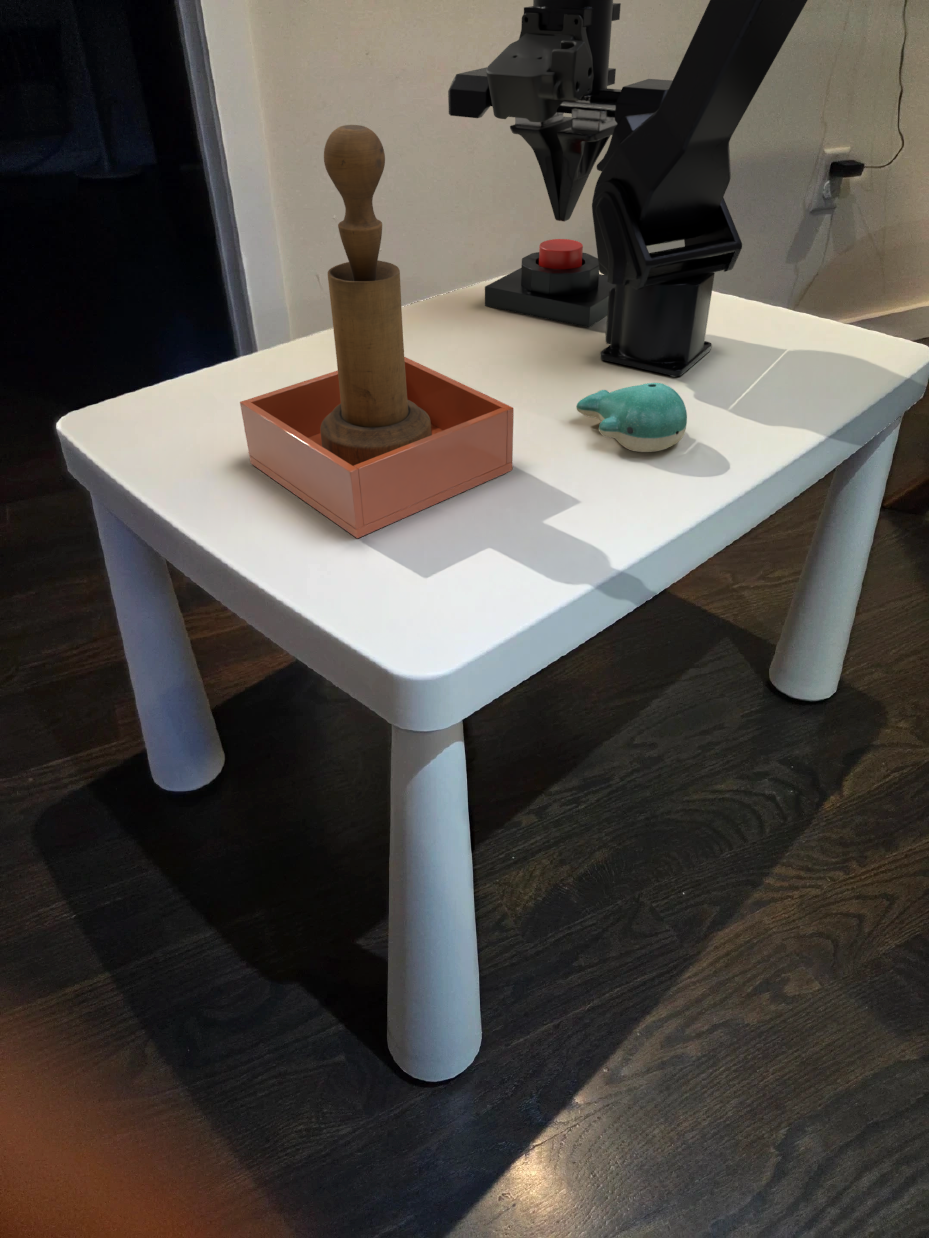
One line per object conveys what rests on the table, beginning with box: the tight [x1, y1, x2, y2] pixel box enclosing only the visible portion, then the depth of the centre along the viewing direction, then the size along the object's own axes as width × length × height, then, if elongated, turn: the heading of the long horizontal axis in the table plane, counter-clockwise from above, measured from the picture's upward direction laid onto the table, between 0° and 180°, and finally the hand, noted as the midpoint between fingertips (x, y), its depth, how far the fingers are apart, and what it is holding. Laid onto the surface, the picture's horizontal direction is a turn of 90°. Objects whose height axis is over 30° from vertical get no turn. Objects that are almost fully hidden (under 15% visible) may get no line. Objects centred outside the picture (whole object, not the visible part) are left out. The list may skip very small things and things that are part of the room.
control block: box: [484, 251, 616, 329], centre depth 78 cm, size 10×8×4 cm
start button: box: [538, 238, 584, 269], centre depth 76 cm, size 4×4×2 cm
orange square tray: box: [239, 356, 515, 539], centre depth 55 cm, size 12×12×4 cm
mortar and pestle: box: [320, 124, 432, 466], centre depth 50 cm, size 7×6×18 cm
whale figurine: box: [575, 382, 688, 453], centre depth 58 cm, size 6×7×4 cm
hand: (562, 220), depth 75 cm, fingers closed
